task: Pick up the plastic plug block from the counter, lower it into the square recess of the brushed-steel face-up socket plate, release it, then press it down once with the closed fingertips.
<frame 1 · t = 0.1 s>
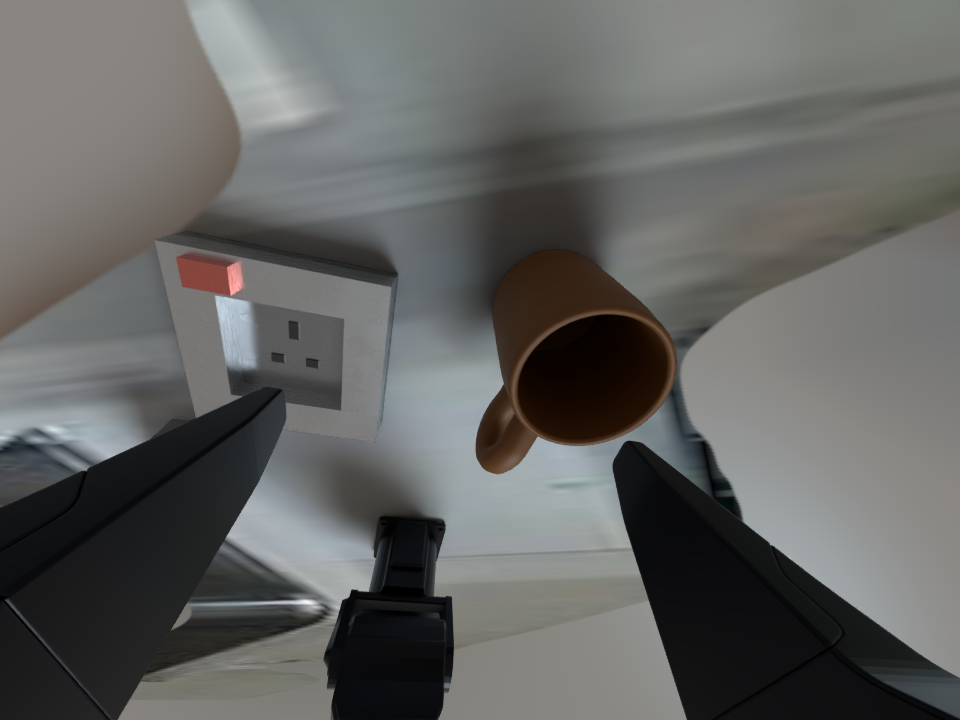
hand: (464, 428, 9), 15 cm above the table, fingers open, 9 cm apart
socket plate: (299, 340, 24), on the table
mug: (526, 327, 24), on the table
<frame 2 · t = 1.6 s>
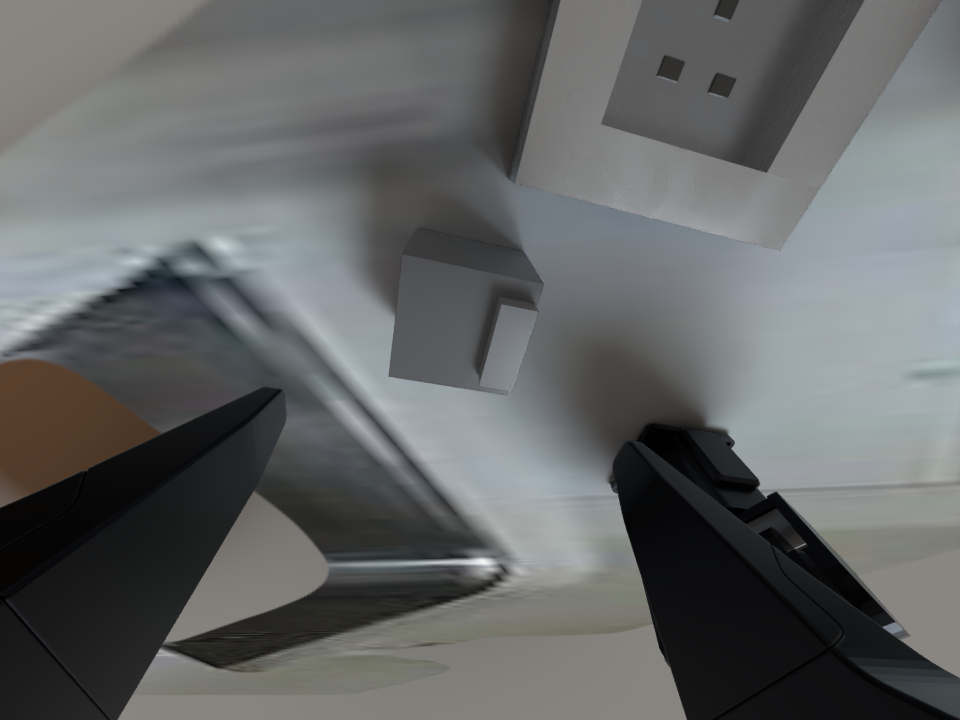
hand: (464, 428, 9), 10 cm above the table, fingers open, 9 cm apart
socket plate: (699, 45, 13), on the table
plug: (461, 290, 18), on the table
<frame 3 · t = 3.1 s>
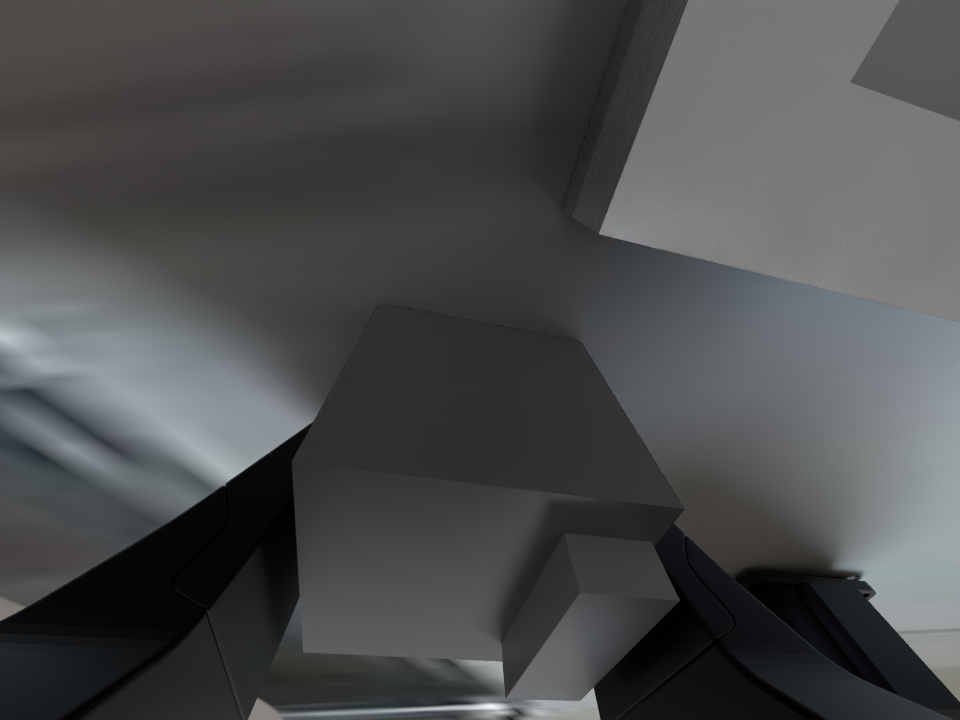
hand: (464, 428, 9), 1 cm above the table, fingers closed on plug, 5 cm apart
plug: (464, 404, 10), on the table, touching gripper
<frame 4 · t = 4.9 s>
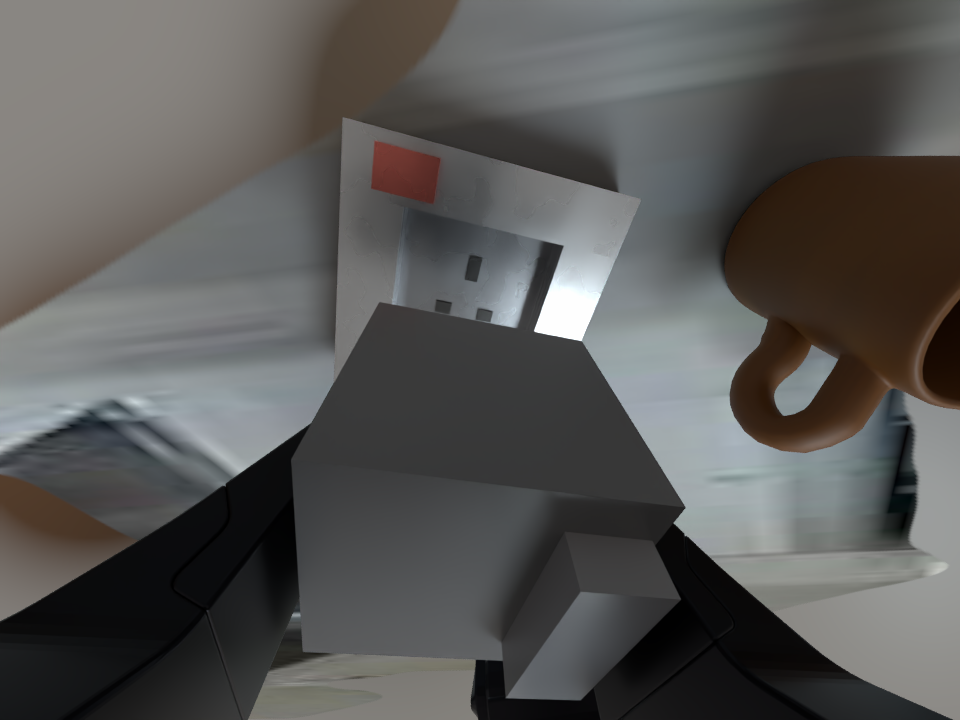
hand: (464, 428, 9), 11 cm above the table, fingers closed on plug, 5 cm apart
socket plate: (468, 286, 19), on the table
mug: (752, 273, 19), on the table
plug: (464, 403, 10), point 10 cm above the table, touching gripper
when the fingers open (3 cm above the table, at t = 6.7 s): plug drops 1 cm, resting on socket plate.
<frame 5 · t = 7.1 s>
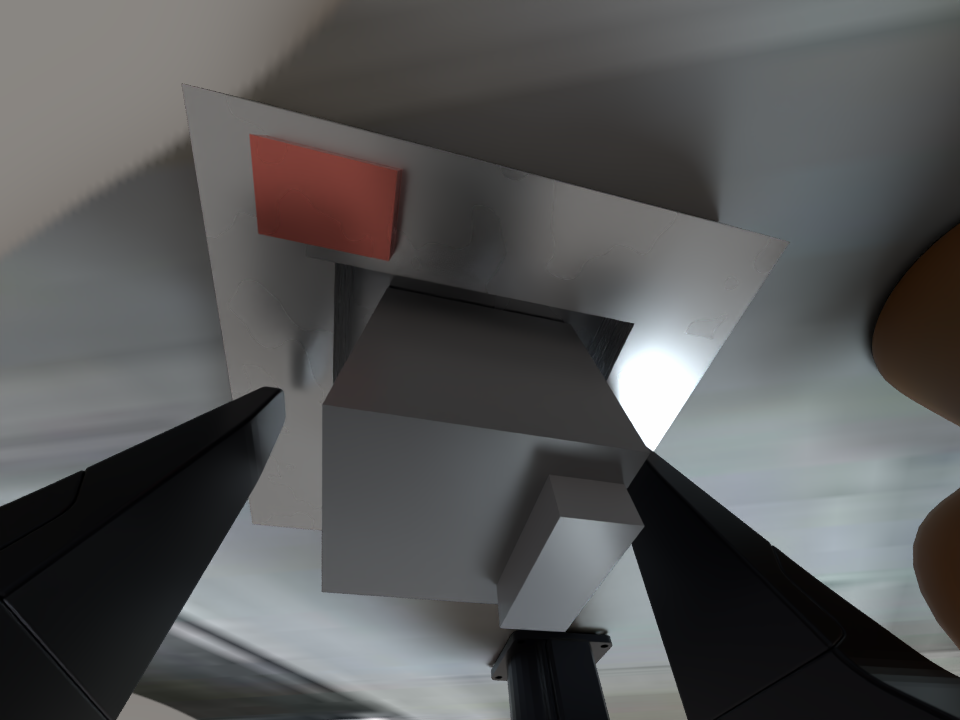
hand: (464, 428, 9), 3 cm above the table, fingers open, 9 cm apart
socket plate: (463, 367, 12), on the table
mug: (909, 339, 12), on the table
plug: (463, 382, 11), point 1 cm above the table, touching socket plate
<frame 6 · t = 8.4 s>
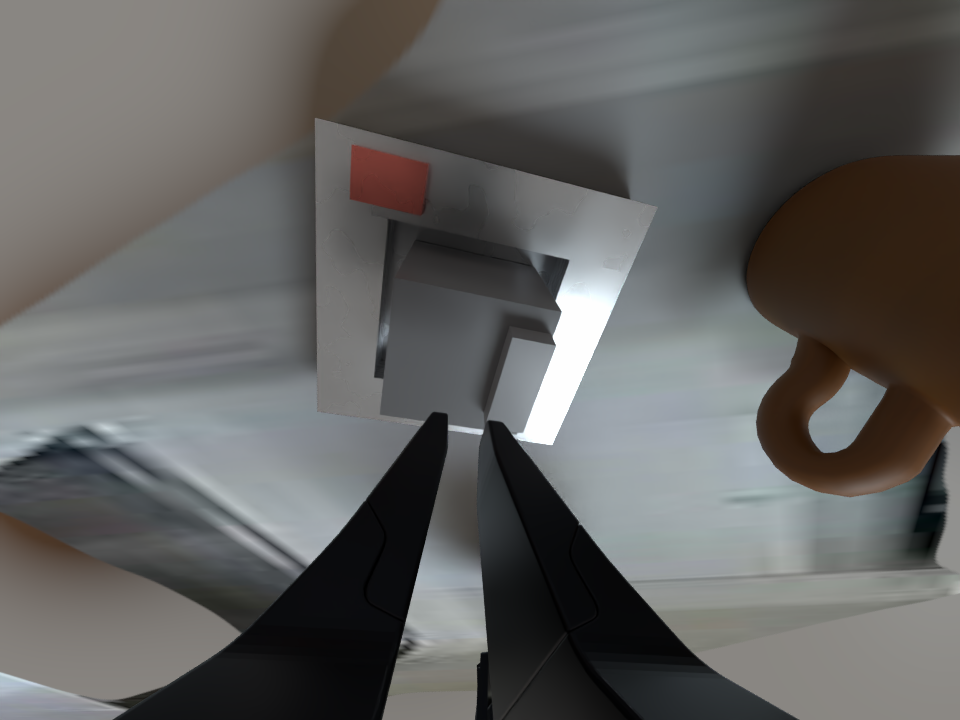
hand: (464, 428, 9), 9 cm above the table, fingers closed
socket plate: (463, 302, 17), on the table
mug: (776, 285, 17), on the table
plug: (463, 309, 16), point 1 cm above the table, touching socket plate
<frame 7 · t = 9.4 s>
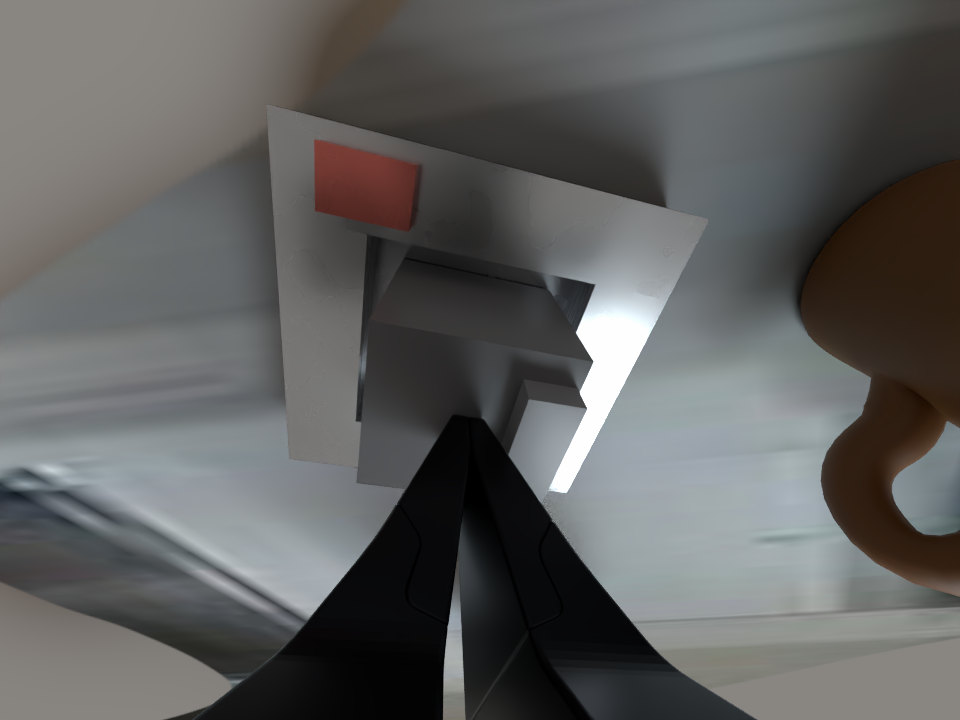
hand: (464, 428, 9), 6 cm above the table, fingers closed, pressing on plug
socket plate: (463, 329, 14), on the table
mug: (833, 308, 15), on the table
plug: (463, 339, 13), point 1 cm above the table, touching gripper, socket plate
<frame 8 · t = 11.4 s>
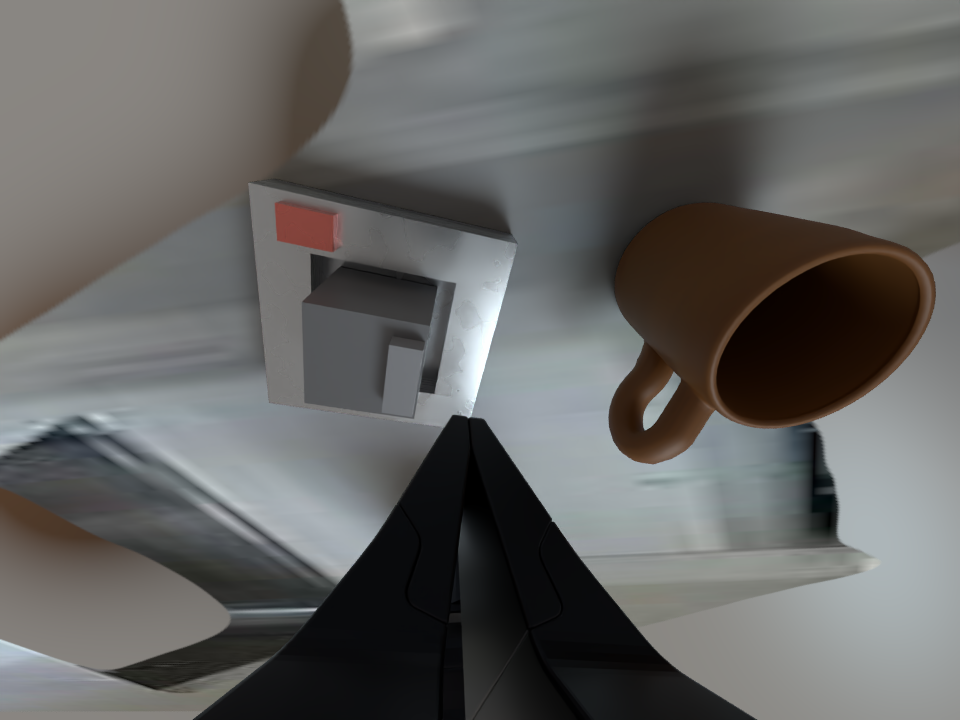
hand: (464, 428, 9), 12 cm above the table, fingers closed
socket plate: (388, 314, 21), on the table
mug: (644, 299, 21), on the table
plug: (385, 320, 20), point 1 cm above the table, touching socket plate
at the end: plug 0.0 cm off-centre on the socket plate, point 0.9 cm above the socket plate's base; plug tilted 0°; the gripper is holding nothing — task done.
